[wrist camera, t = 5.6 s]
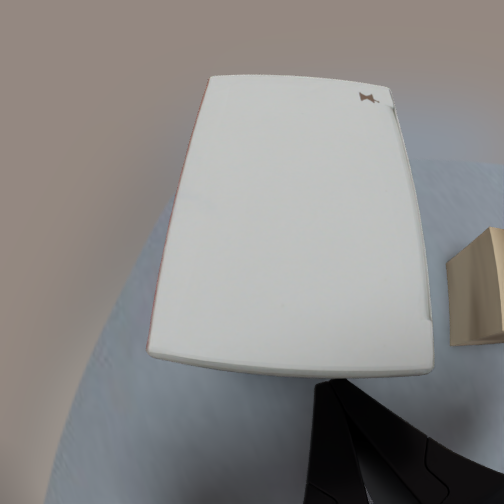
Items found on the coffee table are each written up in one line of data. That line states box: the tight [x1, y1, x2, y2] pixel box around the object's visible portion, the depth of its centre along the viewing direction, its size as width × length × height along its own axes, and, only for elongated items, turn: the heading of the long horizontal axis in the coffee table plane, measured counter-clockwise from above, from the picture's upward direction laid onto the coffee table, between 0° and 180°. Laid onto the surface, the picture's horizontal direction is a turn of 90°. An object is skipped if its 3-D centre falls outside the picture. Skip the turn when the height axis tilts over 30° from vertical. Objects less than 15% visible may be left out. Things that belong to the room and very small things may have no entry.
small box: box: [146, 75, 434, 378], centre depth 11 cm, size 8×6×10 cm
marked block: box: [446, 227, 504, 346], centre depth 12 cm, size 5×5×5 cm
